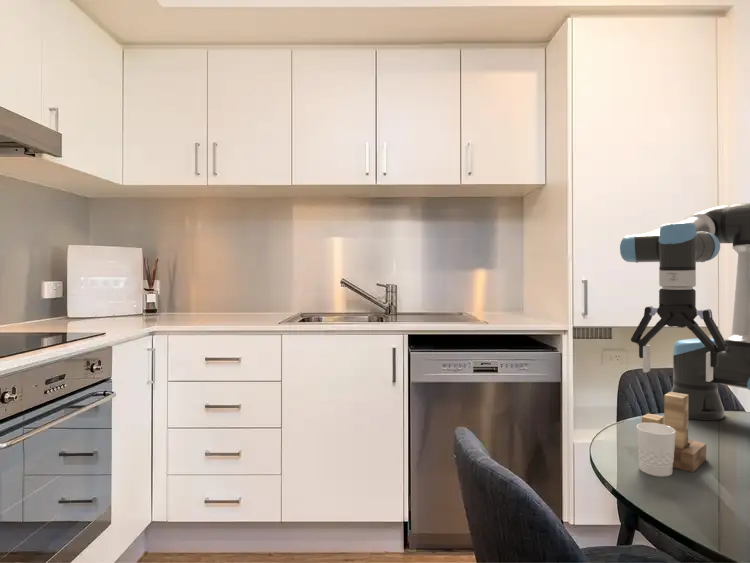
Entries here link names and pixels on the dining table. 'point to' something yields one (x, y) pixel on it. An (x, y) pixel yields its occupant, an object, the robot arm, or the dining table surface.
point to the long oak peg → (677, 416)
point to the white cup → (656, 448)
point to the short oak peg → (653, 419)
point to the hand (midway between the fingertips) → (676, 375)
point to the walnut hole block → (690, 456)
